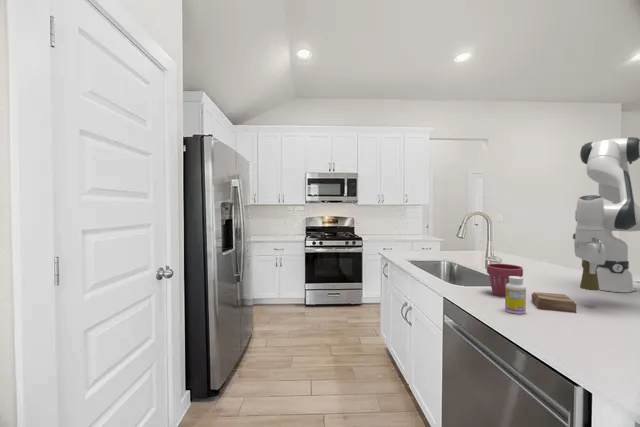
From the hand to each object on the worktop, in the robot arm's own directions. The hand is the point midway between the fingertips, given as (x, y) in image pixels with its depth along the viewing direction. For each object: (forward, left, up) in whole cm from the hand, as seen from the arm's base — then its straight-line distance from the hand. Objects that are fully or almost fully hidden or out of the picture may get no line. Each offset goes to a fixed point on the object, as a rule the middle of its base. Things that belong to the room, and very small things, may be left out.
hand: (589, 272), depth 136 cm
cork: (0, 0, -7) cm, 7 cm away
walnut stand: (+5, -13, -14) cm, 20 cm away
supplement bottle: (+18, -28, -14) cm, 36 cm away
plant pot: (-9, -28, -14) cm, 33 cm away
